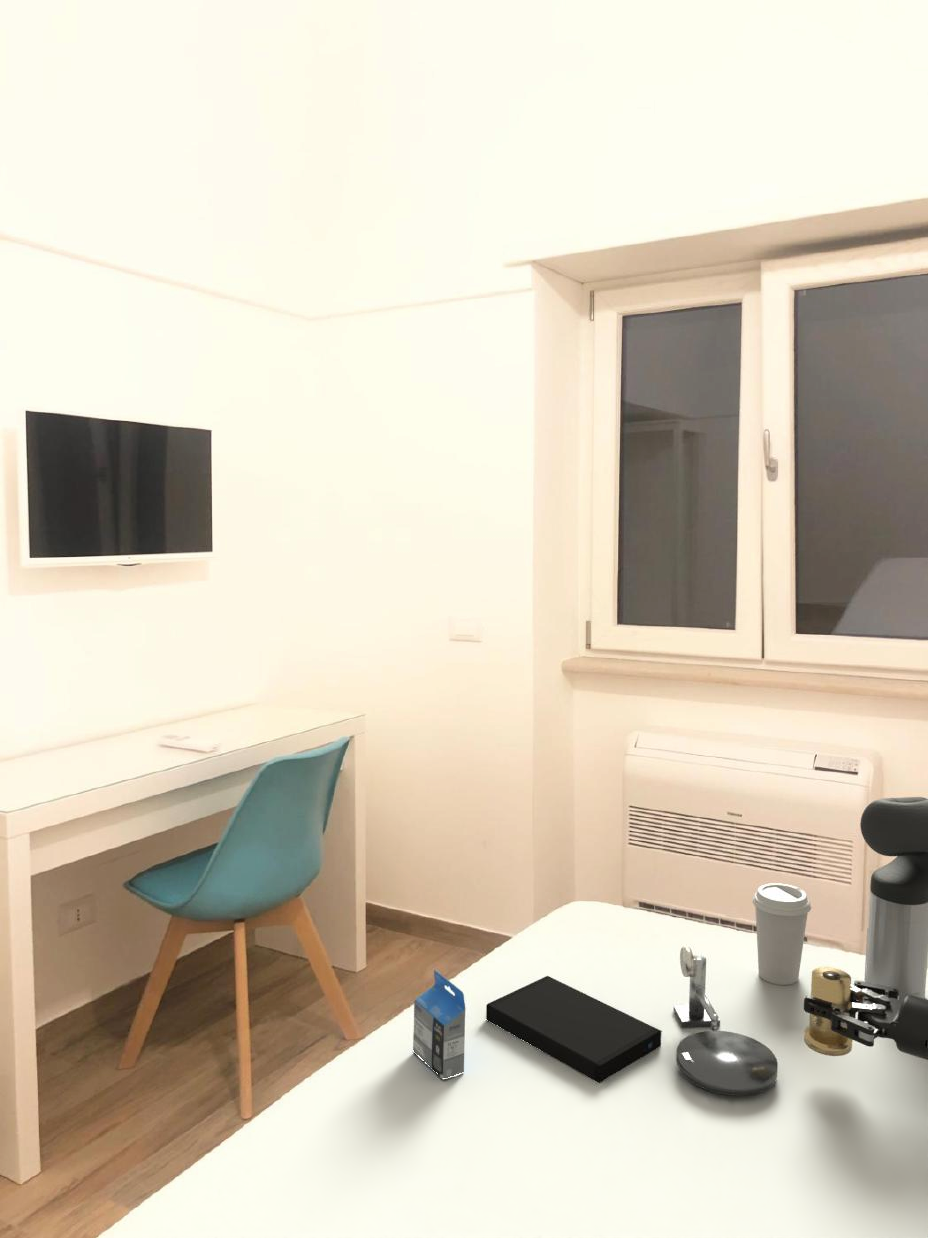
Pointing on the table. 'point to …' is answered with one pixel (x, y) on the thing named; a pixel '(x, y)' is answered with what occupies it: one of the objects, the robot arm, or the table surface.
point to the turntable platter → (727, 1063)
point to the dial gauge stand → (695, 994)
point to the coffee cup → (780, 931)
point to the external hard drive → (574, 1028)
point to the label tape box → (440, 1027)
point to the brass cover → (819, 1034)
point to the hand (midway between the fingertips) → (811, 995)
